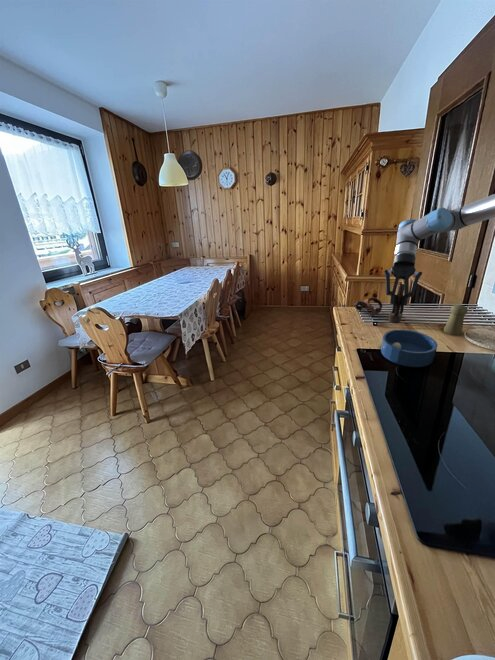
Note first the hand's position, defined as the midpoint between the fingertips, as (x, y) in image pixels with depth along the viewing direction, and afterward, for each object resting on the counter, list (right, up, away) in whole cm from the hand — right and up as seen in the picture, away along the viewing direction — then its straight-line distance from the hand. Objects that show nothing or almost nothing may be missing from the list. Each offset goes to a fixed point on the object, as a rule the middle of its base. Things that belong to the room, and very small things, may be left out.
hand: (397, 312), depth 105 cm
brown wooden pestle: (+2, -3, +6) cm, 7 cm away
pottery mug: (0, +1, +28) cm, 28 cm away
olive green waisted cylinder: (+26, -8, +7) cm, 28 cm away
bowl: (0, -15, -5) cm, 16 cm away
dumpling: (-3, -13, -5) cm, 14 cm away
